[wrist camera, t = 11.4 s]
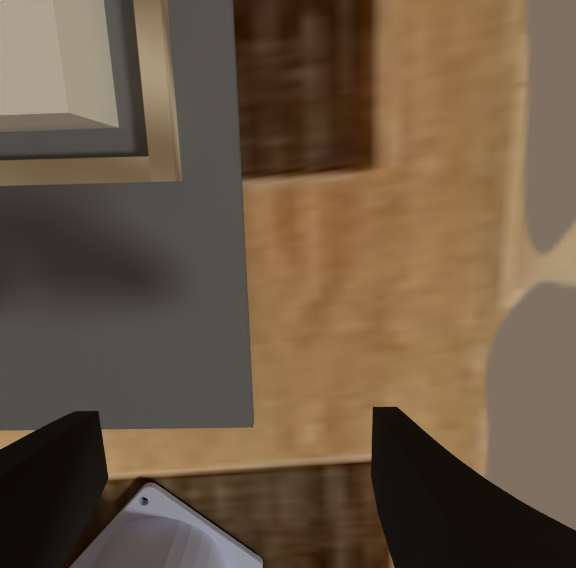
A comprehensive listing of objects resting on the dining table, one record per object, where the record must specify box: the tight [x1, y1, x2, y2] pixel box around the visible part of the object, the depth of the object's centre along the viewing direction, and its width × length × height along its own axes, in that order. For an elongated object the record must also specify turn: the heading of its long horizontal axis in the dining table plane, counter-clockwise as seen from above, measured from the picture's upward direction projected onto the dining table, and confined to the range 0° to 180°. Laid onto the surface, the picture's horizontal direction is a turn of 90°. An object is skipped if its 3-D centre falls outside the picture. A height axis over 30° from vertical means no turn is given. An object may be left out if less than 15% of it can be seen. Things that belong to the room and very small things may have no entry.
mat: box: [0, 0, 254, 430], centre depth 18 cm, size 26×15×1 cm, turn 1°
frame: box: [0, 0, 182, 186], centre depth 16 cm, size 14×10×1 cm
